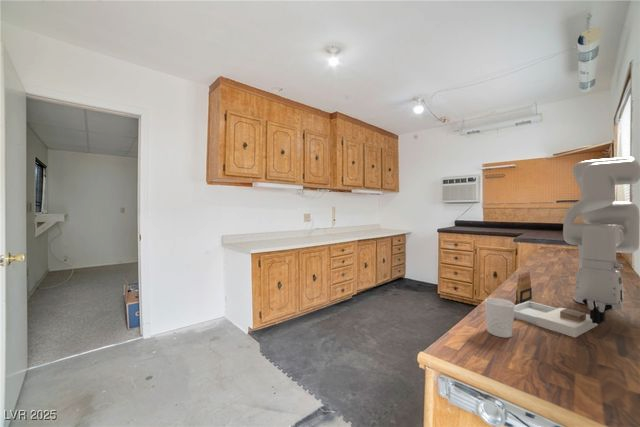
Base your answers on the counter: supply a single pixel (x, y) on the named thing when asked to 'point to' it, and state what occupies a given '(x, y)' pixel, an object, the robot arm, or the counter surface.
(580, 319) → the walnut tile
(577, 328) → the platform
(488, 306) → the white cup
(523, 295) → the ammunition clip
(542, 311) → the box
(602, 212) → the robot arm
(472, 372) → the counter surface
